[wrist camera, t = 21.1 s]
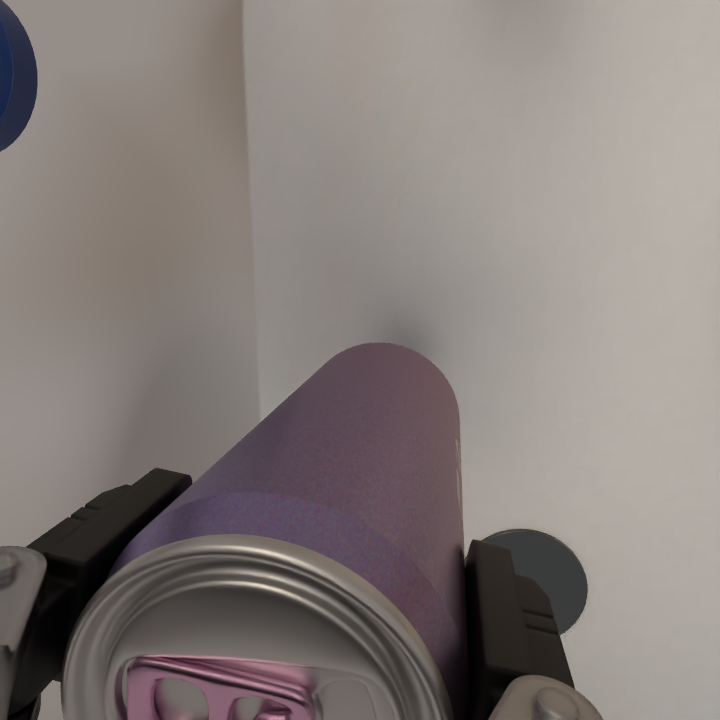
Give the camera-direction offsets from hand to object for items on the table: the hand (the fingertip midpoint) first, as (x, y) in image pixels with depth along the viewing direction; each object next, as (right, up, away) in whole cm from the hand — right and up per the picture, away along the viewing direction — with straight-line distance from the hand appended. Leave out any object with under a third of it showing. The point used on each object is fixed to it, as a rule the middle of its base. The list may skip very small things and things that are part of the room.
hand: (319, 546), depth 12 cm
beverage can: (+2, +2, +11) cm, 11 cm away
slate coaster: (+13, -13, +29) cm, 34 cm away
